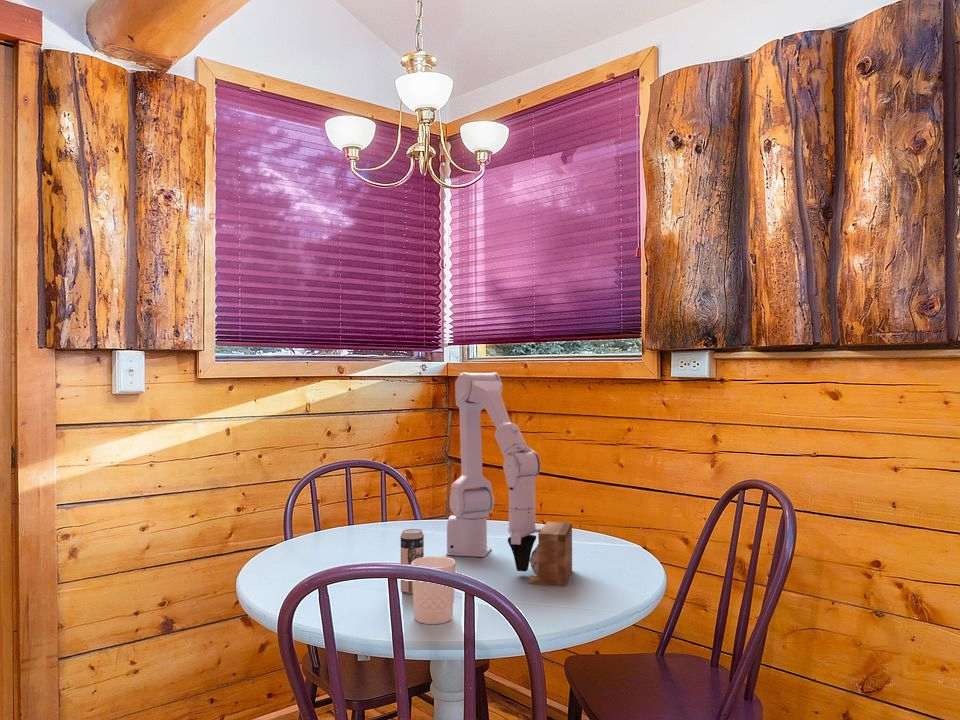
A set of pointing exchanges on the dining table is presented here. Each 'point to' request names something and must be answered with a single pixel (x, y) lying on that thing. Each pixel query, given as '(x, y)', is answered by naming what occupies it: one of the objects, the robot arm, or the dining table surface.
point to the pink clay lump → (535, 561)
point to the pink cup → (433, 593)
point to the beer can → (411, 552)
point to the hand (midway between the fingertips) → (522, 570)
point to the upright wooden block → (554, 554)
